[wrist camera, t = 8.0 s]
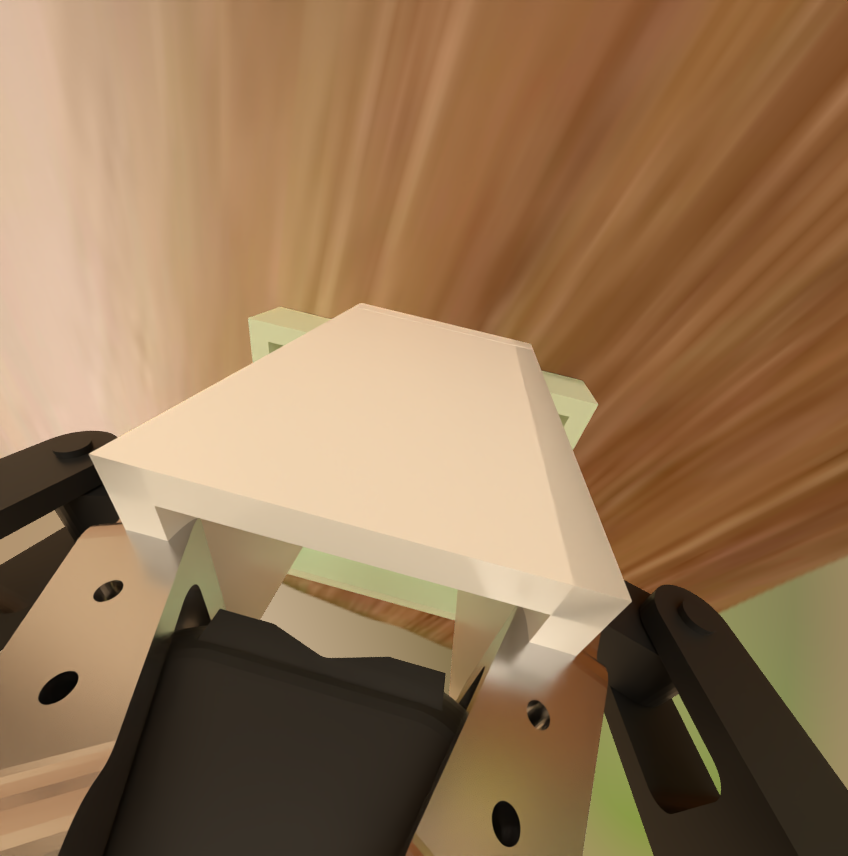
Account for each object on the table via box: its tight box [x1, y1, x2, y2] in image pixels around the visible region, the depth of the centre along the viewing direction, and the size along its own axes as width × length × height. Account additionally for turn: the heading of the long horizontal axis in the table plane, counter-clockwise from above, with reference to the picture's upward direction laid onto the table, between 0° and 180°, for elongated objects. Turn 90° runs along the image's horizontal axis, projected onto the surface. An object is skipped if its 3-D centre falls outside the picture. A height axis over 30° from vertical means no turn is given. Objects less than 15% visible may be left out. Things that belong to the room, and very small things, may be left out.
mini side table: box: [89, 303, 632, 701], centre depth 9 cm, size 6×6×9 cm
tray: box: [248, 307, 598, 620], centre depth 23 cm, size 18×22×3 cm
